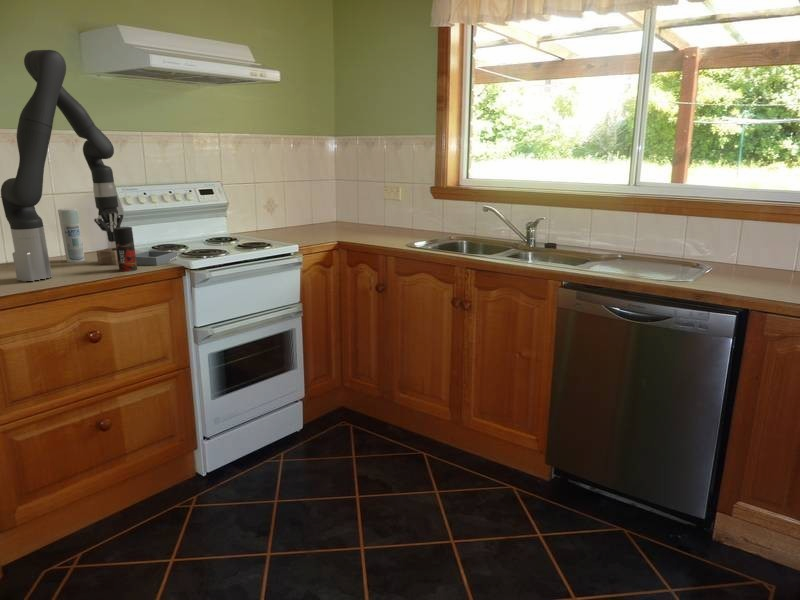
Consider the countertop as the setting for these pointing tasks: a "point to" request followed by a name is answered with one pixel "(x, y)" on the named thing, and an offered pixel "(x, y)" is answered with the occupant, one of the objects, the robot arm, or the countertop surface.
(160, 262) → the tray
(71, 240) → the spray can
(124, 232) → the deodorant
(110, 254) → the brown square block
